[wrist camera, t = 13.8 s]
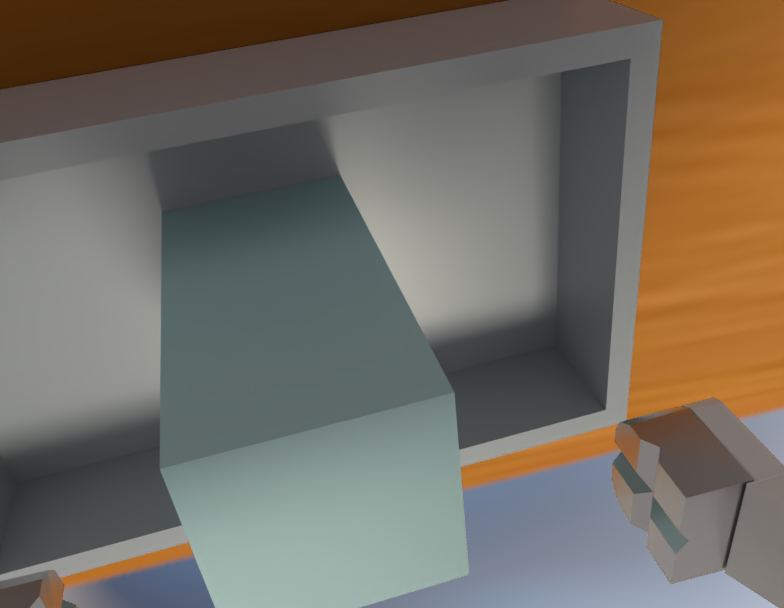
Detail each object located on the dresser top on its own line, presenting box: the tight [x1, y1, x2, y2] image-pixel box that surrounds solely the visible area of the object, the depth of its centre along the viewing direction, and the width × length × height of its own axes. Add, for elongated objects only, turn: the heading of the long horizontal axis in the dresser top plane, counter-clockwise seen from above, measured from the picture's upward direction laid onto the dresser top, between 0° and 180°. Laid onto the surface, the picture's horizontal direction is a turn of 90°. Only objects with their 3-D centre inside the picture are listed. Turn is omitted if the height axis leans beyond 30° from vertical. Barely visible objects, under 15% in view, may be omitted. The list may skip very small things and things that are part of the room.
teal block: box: [160, 175, 469, 608], centre depth 14 cm, size 4×4×8 cm
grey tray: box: [0, 0, 663, 581], centre depth 17 cm, size 16×10×4 cm, turn 97°
